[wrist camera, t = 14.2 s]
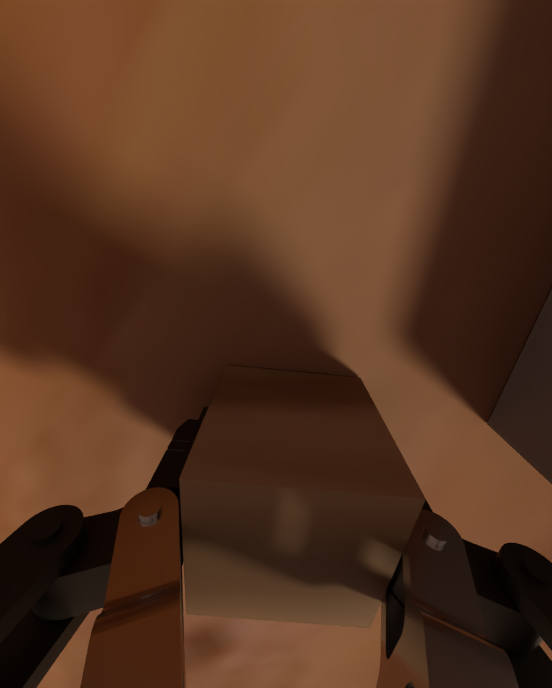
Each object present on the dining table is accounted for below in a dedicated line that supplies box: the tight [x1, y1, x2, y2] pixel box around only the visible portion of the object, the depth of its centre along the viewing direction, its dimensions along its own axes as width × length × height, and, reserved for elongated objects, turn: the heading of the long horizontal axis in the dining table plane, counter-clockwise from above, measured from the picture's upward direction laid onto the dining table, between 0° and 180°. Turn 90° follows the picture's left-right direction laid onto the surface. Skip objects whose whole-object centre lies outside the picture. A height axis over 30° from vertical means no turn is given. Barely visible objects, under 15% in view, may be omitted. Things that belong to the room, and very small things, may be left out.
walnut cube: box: [179, 365, 426, 628], centre depth 9 cm, size 5×5×5 cm
